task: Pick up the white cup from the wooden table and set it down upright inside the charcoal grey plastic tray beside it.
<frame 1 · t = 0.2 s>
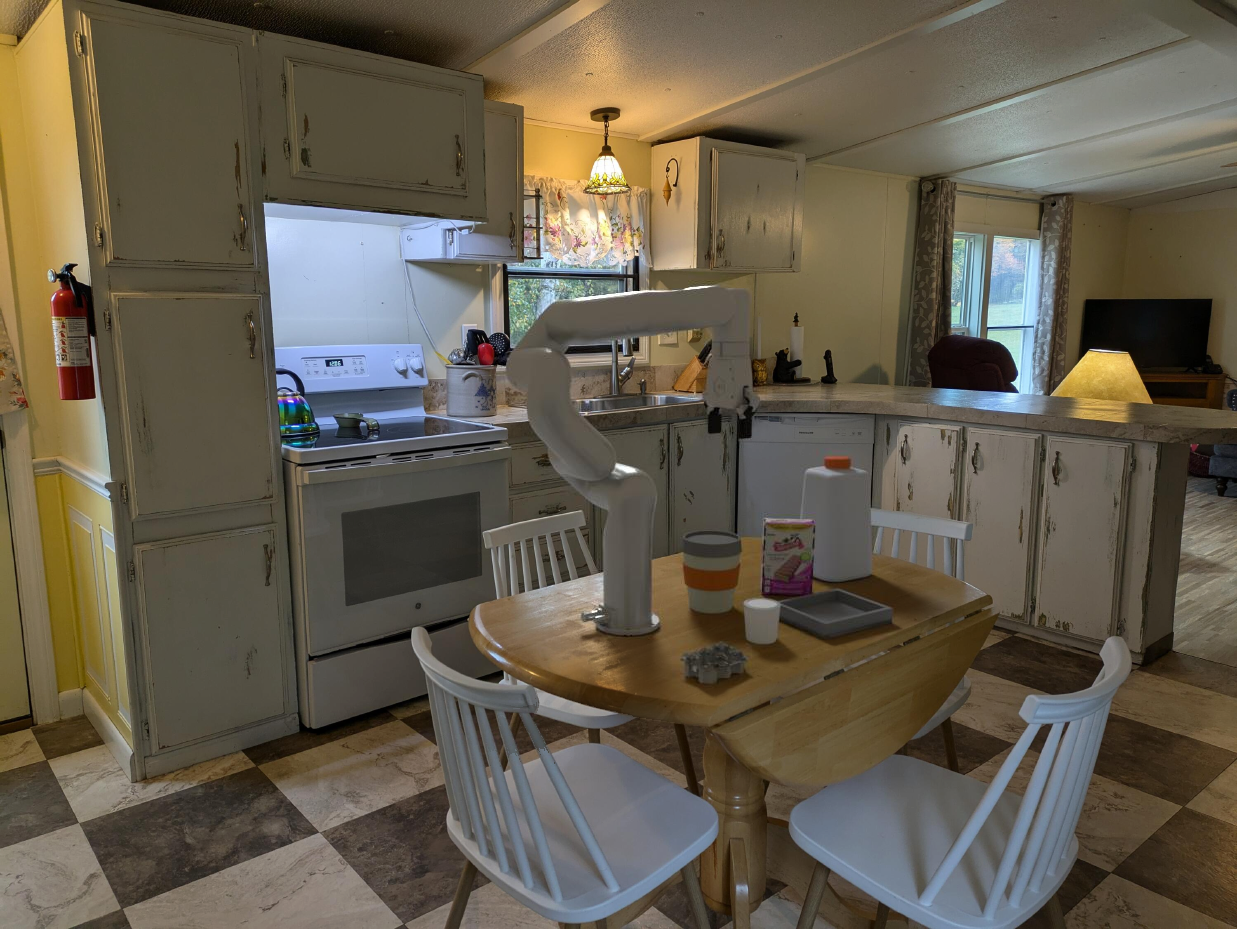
hand: (729, 435, 172), 36 cm above the table, tool pointing down, fingers open, 9 cm apart
plastic bottle: (833, 573, 202), on the table
candy bar box: (786, 593, 187), on the table
white cup: (761, 639, 159), on the table
tray: (831, 619, 170), on the table
egg carton: (713, 674, 144), on the table
reusable coffee cup: (710, 607, 178), on the table
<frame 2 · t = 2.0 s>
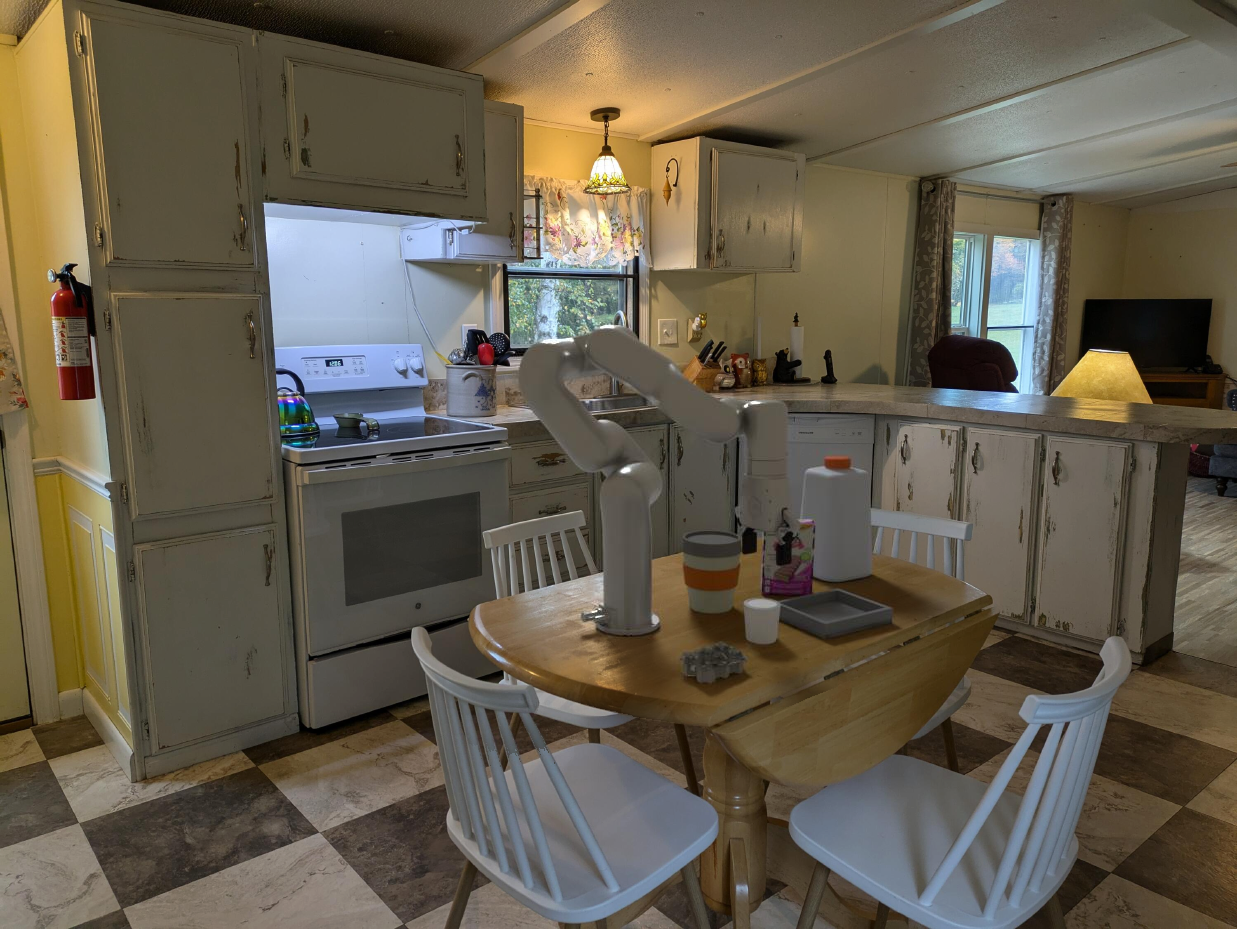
hand: (766, 558, 157), 16 cm above the table, tool pointing down, fingers open, 9 cm apart
nothing on the table moved.
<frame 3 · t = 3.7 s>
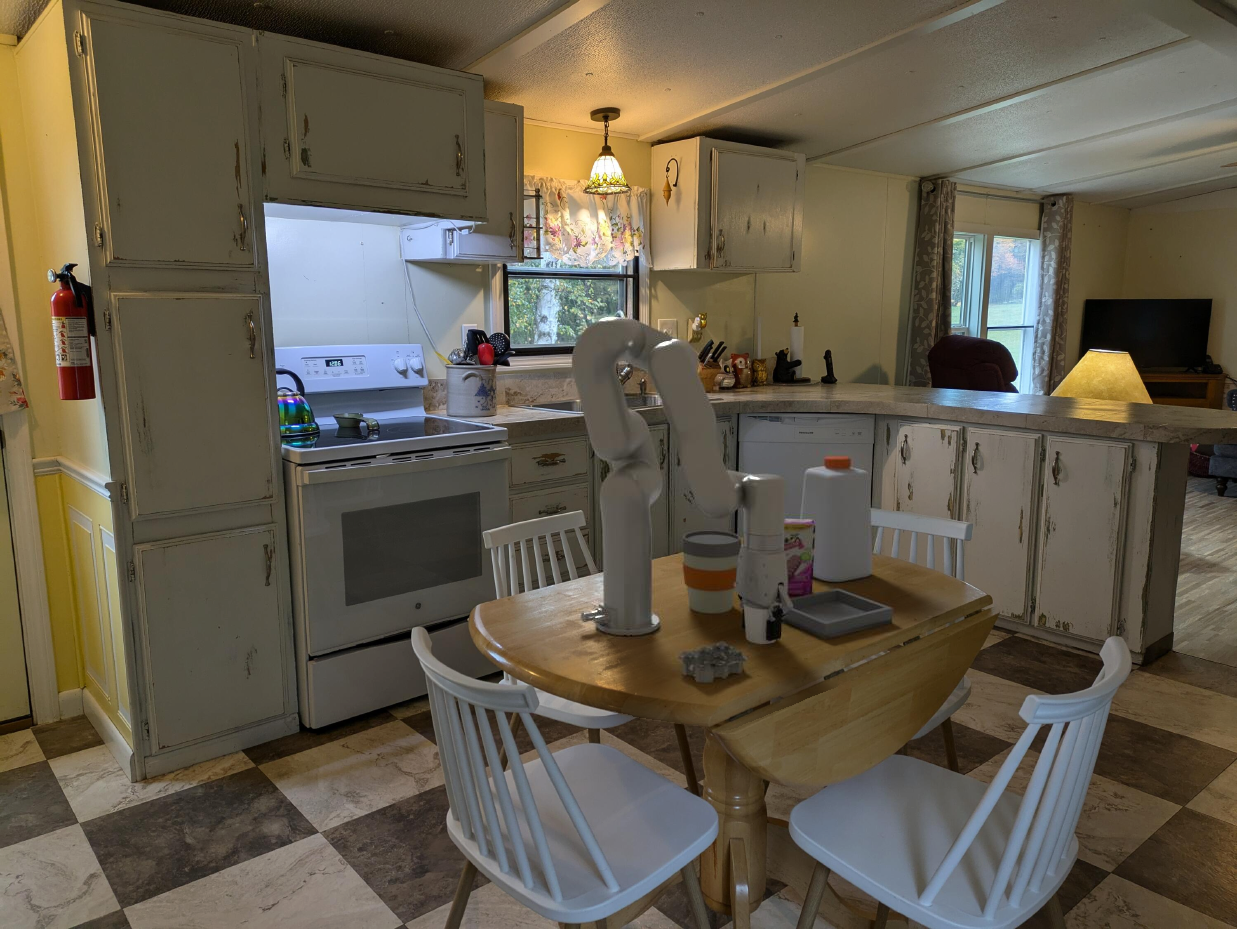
hand: (761, 632, 159), 1 cm above the table, tool pointing down, fingers closed on white cup, 6 cm apart
white cup: (761, 639, 159), on the table, touching gripper
everything else where it was.
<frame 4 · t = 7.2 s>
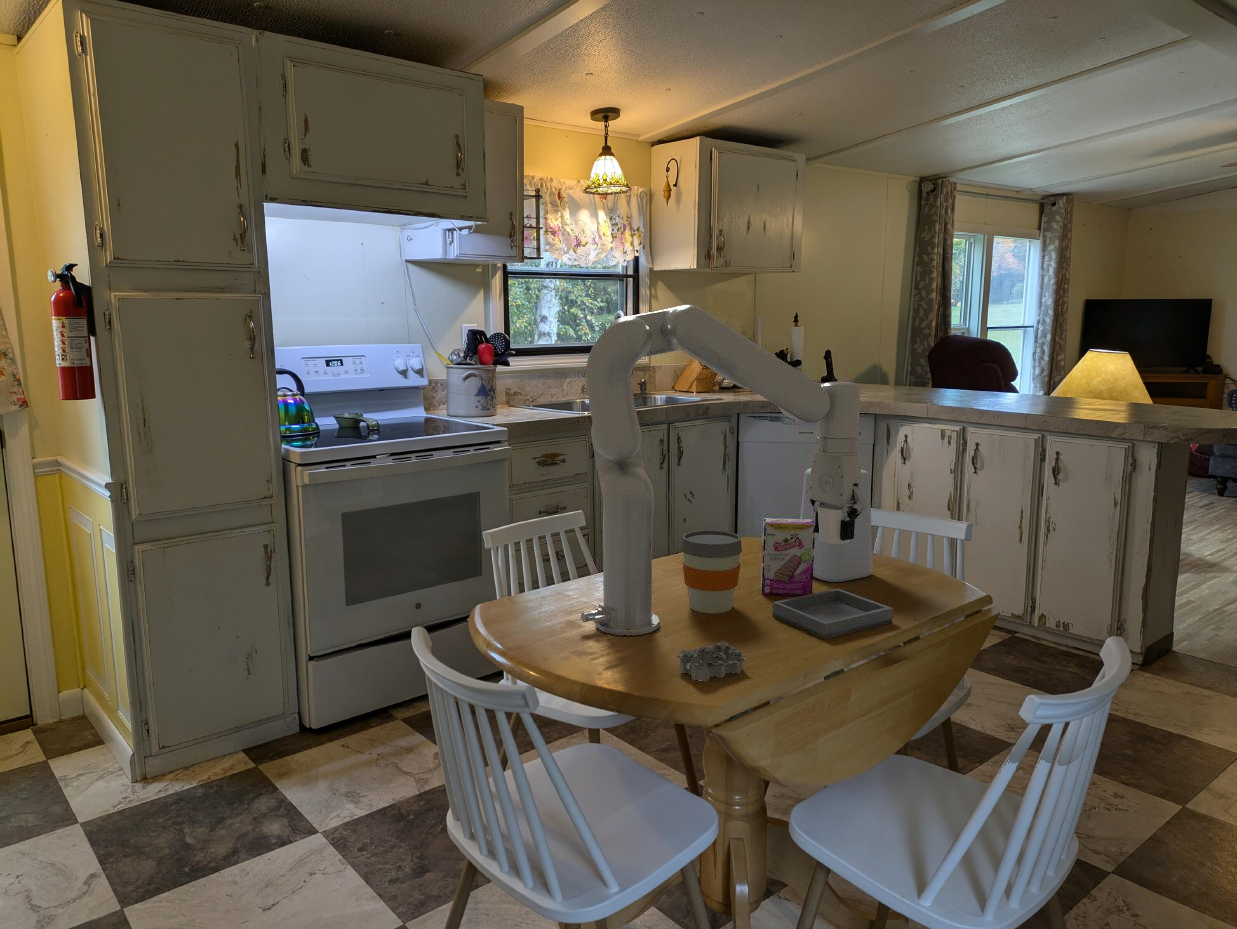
hand: (834, 535, 167), 17 cm above the table, tool pointing down, fingers closed on white cup, 6 cm apart
white cup: (834, 541, 167), point 16 cm above the table, touching gripper
everything else where it was.
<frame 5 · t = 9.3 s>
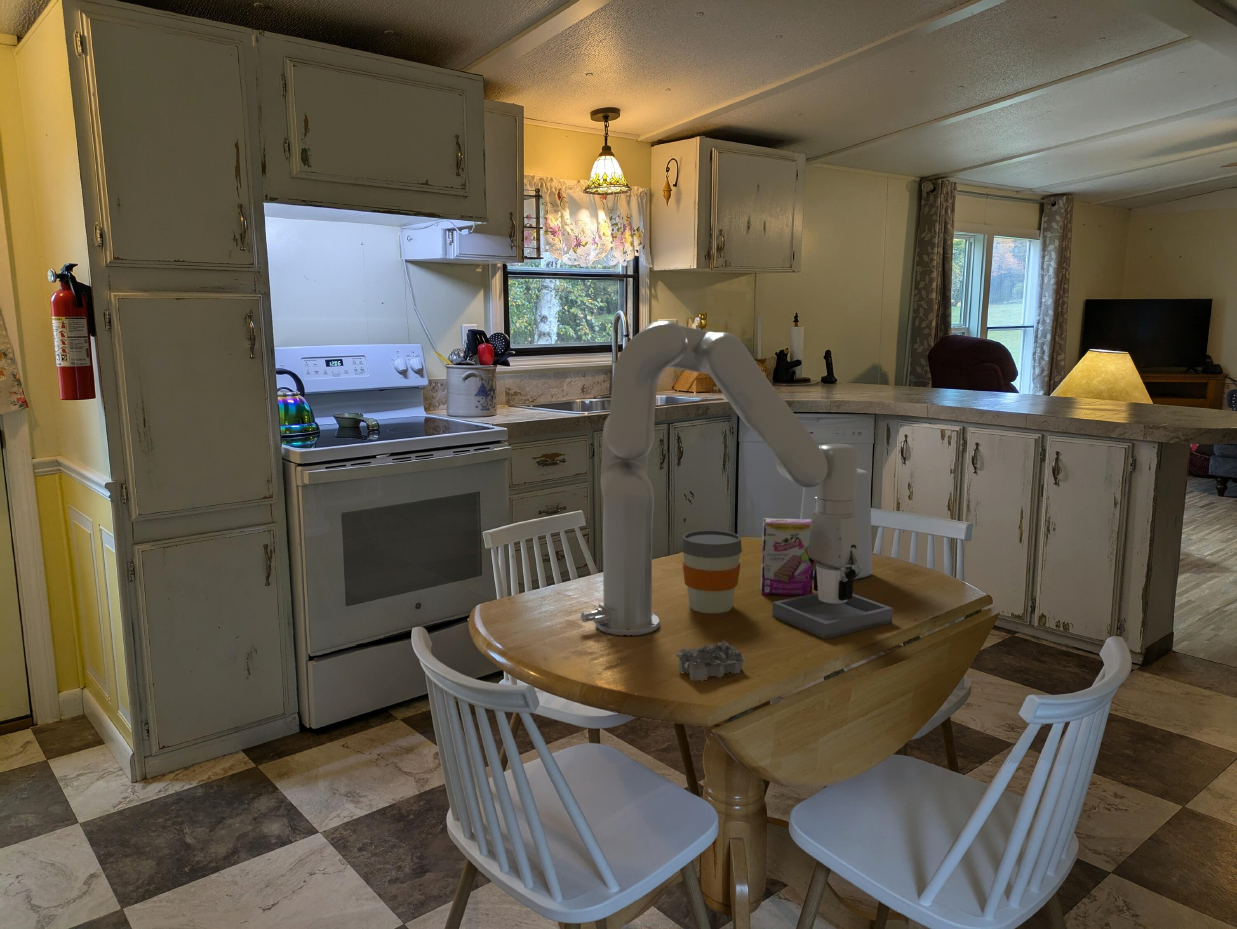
hand: (832, 593, 169), 5 cm above the table, tool pointing down, fingers closed on white cup, 6 cm apart
white cup: (832, 600, 169), point 4 cm above the table, touching gripper
everything else where it was.
when the fingers open (3 cm above the table, at t = 10.7 s): white cup drops 2 cm, resting on tray.
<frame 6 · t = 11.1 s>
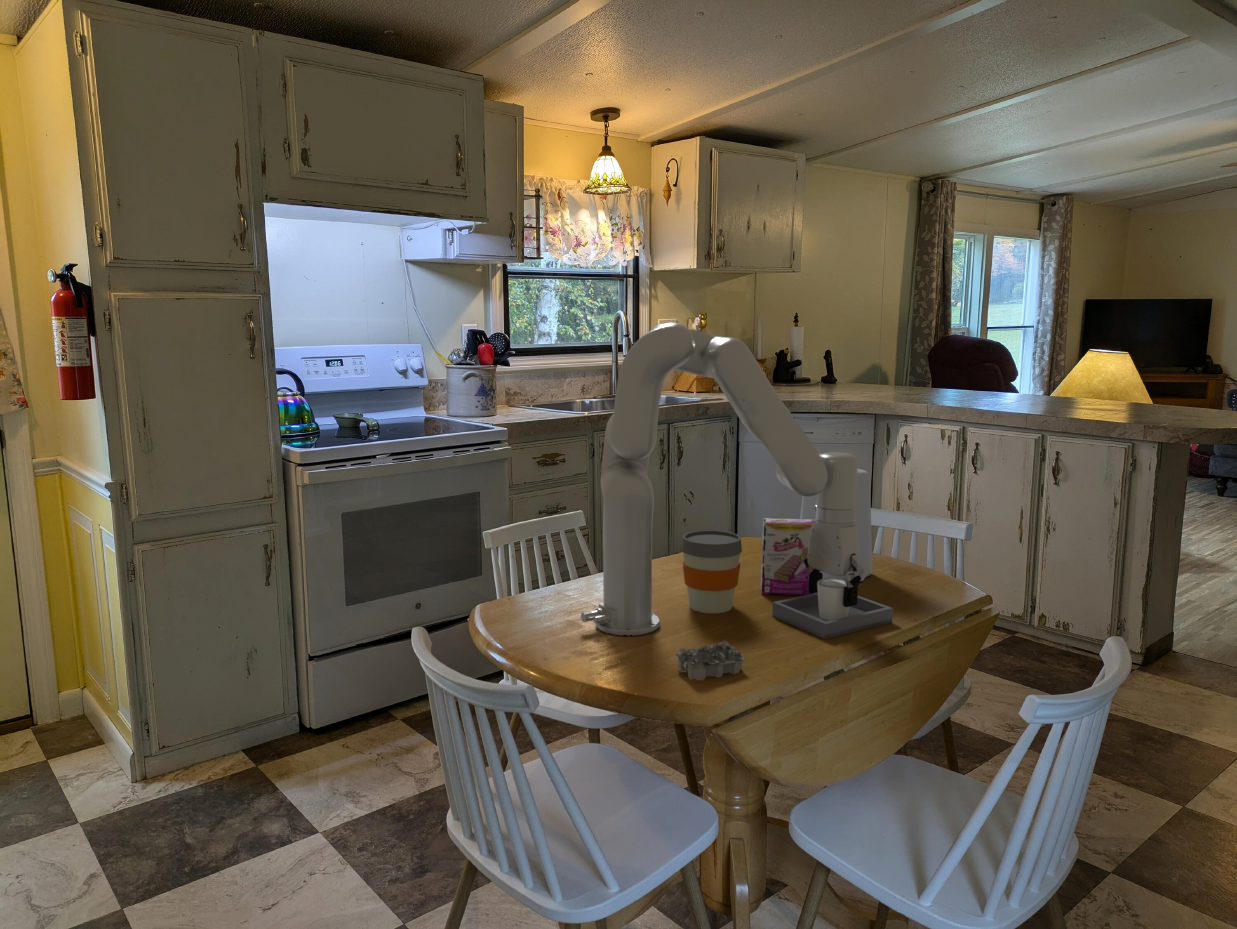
hand: (832, 598, 169), 4 cm above the table, tool pointing down, fingers open, 9 cm apart
white cup: (833, 617, 169), point 1 cm above the table, touching tray
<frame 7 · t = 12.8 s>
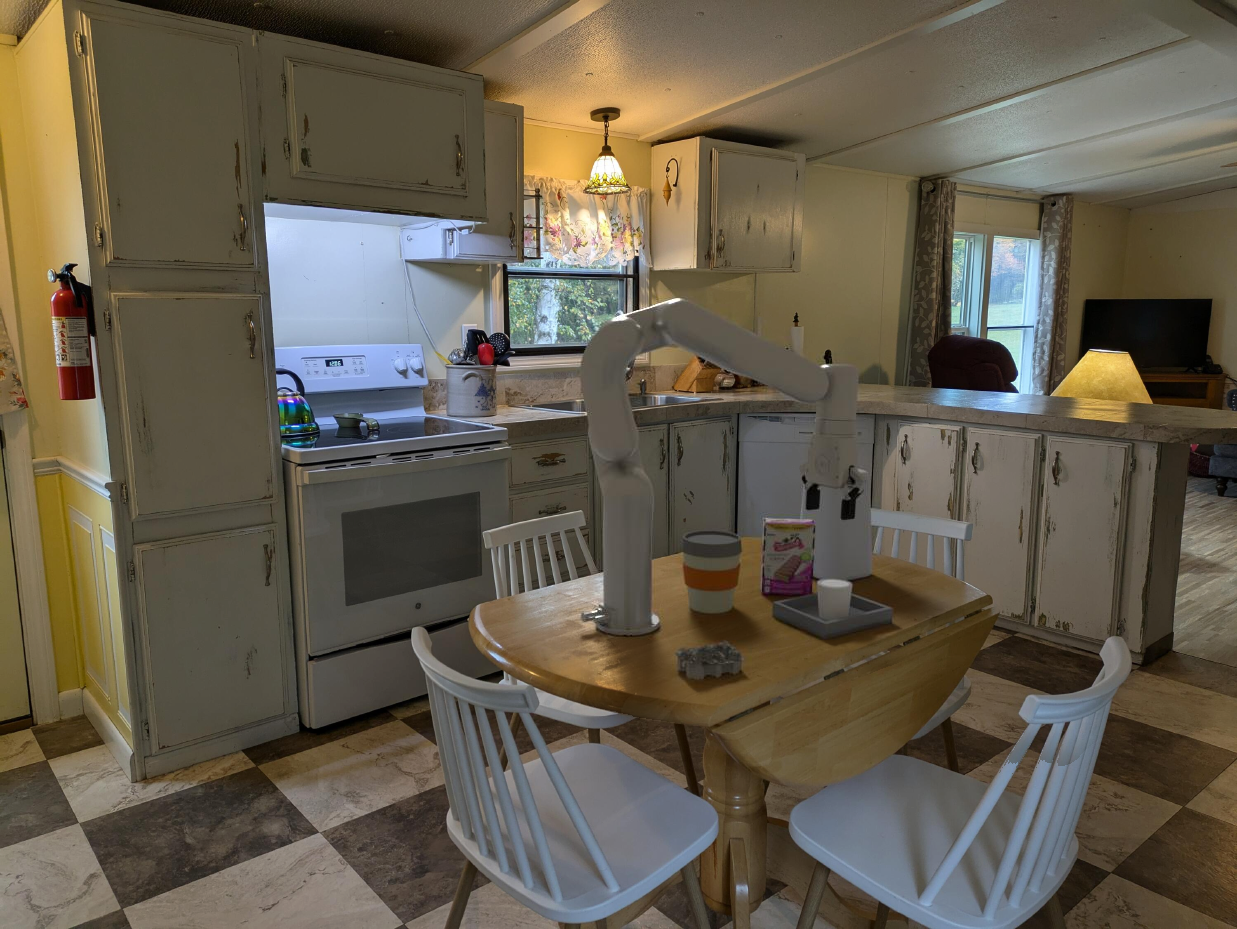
hand: (829, 514, 166), 22 cm above the table, tool pointing down, fingers open, 9 cm apart
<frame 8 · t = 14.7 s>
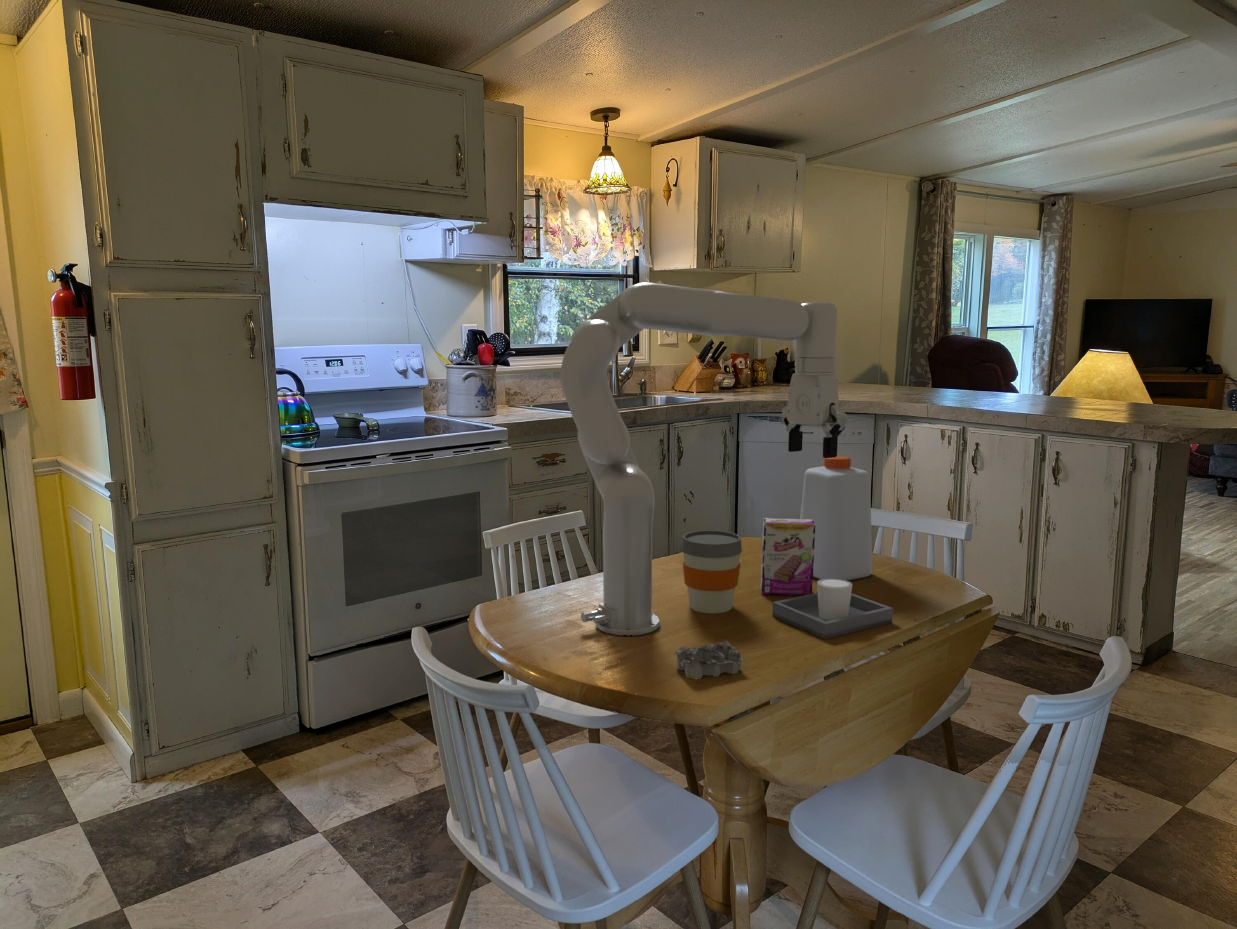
hand: (812, 454, 166), 33 cm above the table, tool pointing down, fingers open, 9 cm apart
at the end: white cup inside the target area on the tray (0.6 cm from its centre), point 0.6 cm above the tray's base; white cup tilted 0°; the gripper is holding nothing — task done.
